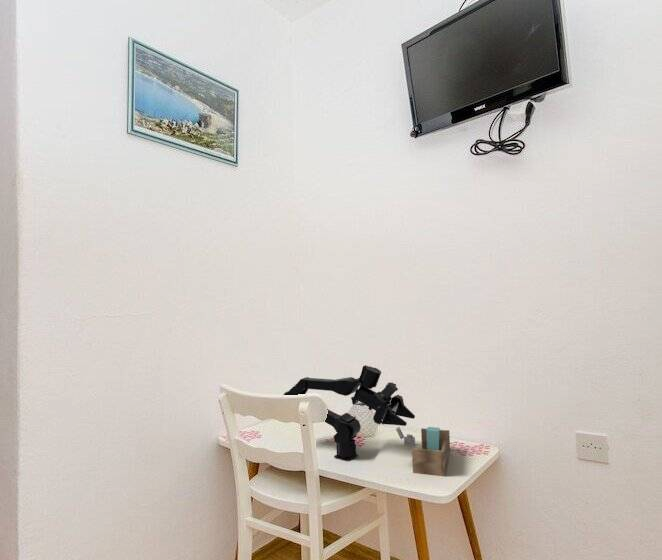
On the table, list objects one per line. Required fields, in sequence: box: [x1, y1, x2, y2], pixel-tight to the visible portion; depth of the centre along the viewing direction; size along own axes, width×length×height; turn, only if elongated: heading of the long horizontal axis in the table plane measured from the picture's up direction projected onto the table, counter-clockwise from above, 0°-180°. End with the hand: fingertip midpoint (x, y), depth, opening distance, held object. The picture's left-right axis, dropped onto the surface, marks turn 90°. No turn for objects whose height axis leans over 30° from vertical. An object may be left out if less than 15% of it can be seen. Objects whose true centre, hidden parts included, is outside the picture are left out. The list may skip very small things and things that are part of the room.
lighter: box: [395, 426, 416, 447], centre depth 162 cm, size 7×2×8 cm, turn 78°
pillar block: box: [426, 426, 441, 451], centre depth 144 cm, size 4×4×11 cm
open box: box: [411, 427, 451, 478], centre depth 144 cm, size 10×23×9 cm, turn 160°
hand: (410, 420), depth 143 cm, fingers open, 9 cm apart
